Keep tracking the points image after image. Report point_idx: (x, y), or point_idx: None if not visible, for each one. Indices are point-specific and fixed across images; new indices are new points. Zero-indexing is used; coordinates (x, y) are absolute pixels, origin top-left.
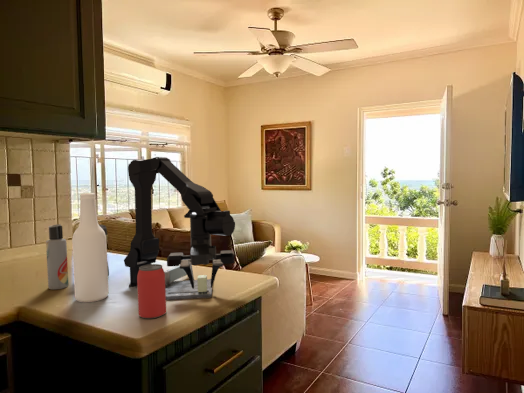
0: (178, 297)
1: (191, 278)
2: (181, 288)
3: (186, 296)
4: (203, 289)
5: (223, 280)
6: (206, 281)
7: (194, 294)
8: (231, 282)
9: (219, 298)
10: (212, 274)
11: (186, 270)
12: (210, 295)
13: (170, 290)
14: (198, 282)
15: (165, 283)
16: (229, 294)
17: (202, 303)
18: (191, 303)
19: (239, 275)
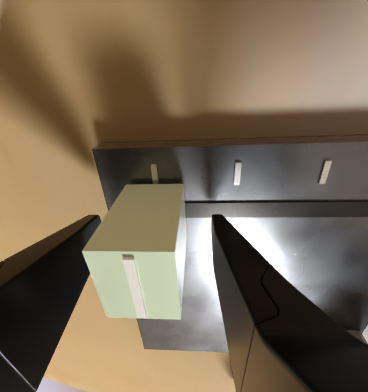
0: (313, 138)
1: (238, 261)
2: (282, 273)
3: (258, 143)
4: (143, 192)
5: (111, 343)
6: (99, 229)
7: (204, 156)
8: (73, 323)
9: (45, 118)
10: (2, 280)
11: (365, 357)
12: (99, 145)
13: (349, 253)
14: (170, 222)
15: (358, 334)
16: (15, 184)
17: (132, 8)
18: (218, 22)
19: (70, 369)
